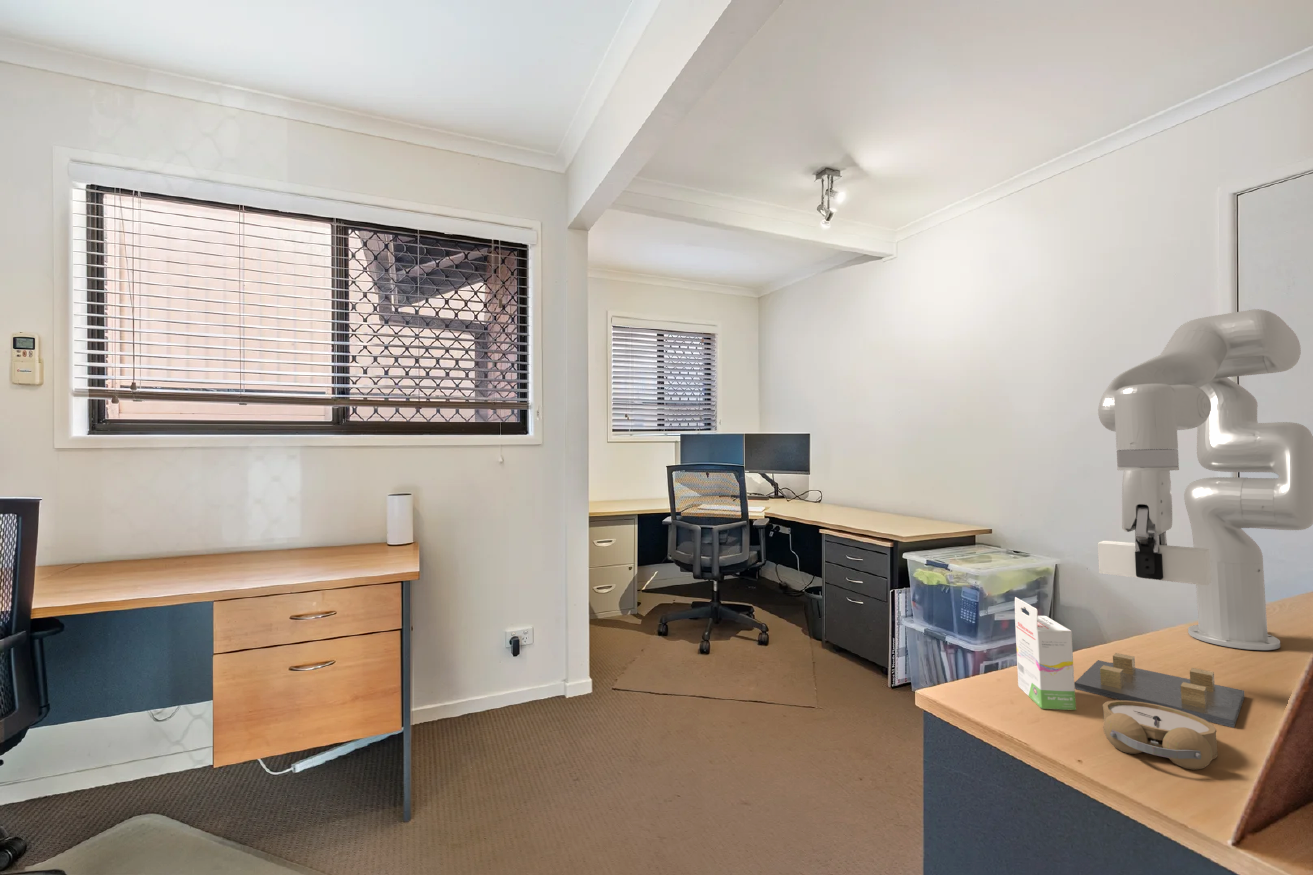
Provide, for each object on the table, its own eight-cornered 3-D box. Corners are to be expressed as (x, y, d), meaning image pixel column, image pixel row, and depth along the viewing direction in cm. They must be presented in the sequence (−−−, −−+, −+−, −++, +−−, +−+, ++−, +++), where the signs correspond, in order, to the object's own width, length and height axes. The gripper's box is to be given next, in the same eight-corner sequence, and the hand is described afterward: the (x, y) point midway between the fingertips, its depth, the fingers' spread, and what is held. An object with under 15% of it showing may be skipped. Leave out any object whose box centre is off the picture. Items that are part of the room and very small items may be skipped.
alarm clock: (1215, 716, 75) (1217, 739, 65) (1217, 756, 75) (1220, 785, 64) (1107, 693, 83) (1093, 710, 72) (1108, 729, 82) (1094, 752, 72)
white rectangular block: (1105, 569, 97) (1104, 540, 97) (1211, 581, 87) (1209, 548, 87) (1099, 573, 94) (1097, 542, 95) (1207, 585, 84) (1205, 551, 85)
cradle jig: (1098, 665, 100) (1097, 645, 100) (1244, 697, 86) (1243, 673, 86) (1074, 688, 91) (1073, 666, 91) (1234, 727, 77) (1232, 701, 78)
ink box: (1078, 711, 84) (1073, 610, 84) (1041, 709, 84) (1035, 609, 85) (1050, 687, 92) (1045, 595, 92) (1016, 686, 93) (1012, 595, 93)
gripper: (1129, 460, 100) (1134, 566, 99) (1104, 462, 89) (1109, 580, 88) (1187, 460, 94) (1193, 572, 93) (1167, 461, 83) (1174, 588, 82)
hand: (1152, 574), depth 91 cm, fingers closed on white rectangular block, 4 cm apart
